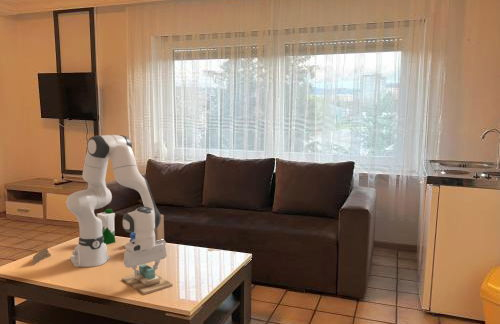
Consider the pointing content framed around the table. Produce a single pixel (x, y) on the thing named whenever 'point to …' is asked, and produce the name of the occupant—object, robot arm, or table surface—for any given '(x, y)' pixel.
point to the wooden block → (160, 230)
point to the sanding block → (147, 276)
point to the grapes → (132, 236)
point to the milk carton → (107, 225)
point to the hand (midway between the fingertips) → (146, 271)
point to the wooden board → (144, 288)
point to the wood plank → (41, 256)
